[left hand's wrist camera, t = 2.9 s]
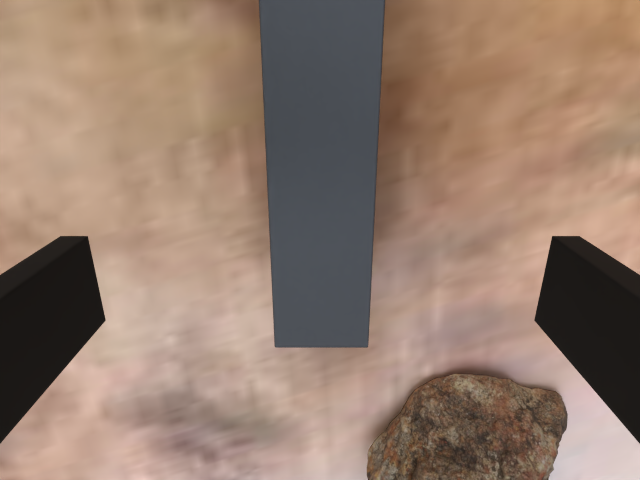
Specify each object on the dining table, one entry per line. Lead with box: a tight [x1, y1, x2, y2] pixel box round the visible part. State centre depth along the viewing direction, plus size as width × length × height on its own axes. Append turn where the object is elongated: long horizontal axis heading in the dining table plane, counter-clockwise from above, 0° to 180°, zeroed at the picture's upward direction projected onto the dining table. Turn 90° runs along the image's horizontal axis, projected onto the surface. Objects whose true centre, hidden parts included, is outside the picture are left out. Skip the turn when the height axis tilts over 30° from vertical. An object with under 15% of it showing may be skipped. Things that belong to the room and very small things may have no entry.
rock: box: [367, 374, 567, 480], centre depth 28 cm, size 14×9×10 cm
